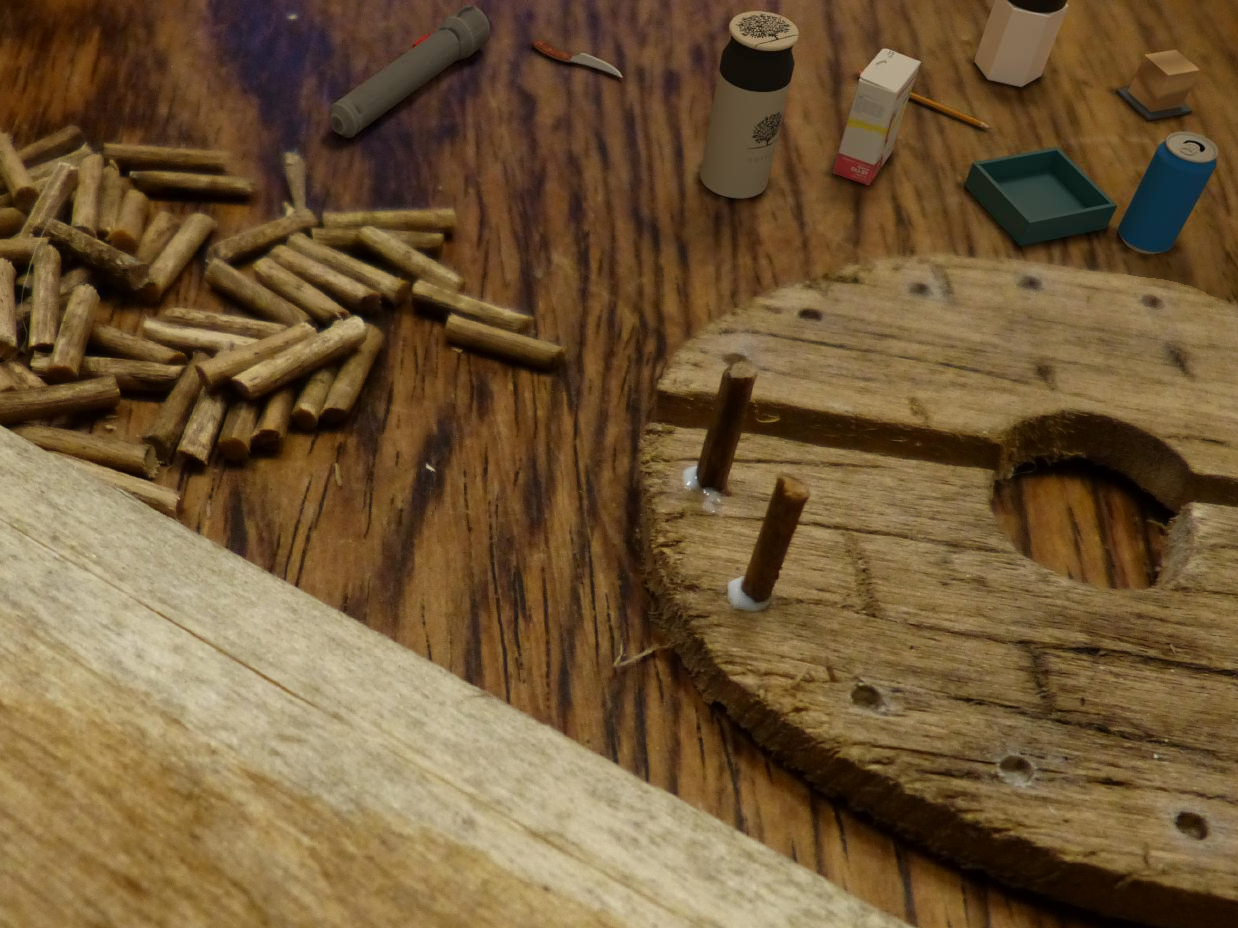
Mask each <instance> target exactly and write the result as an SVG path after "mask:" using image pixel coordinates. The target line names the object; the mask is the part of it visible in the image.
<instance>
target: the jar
mask: <svg viewBox="0 0 1238 928" xmlns="http://www.w3.org/2000/svg"><path fill="white" fill-rule="evenodd" d="M1068 9H1069V4H1068V0H994V1H993V5H992V8H991V11H990V13H989V17H988V18H987V22H986V25H985V28H984V29H983V33H982V37H981V40H980V42H979V45H978V48H977V51H976V53H975V57H974V58H973V59H974V60H973V62H974V63H975V65H976V66H977V68H978V69H979V70H980V72H981V73H982V74H983V76H984V77H985V78H986V80H988V81H992V82H996V83H1000V84H1005V85H1010V86H1014V87H1018V88H1022V87H1024V86H1026V85H1028V84H1029V83H1031V82H1033V81H1035V80H1036V79H1038V78H1041V77H1042V75H1043V72H1044V69H1045V67H1046V66H1047V65H1046V64H1047V62H1048V60H1049V57H1050V55H1051V52H1052V49H1053V48H1054V45H1055V43H1056V40H1057V37H1058V35H1059V32H1060V30H1061V26H1062V25H1063V22H1064V19H1065V17H1066V14H1067V11H1068Z"/></svg>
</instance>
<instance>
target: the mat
mask: <svg viewBox="0 0 1238 928" xmlns="http://www.w3.org/2000/svg"><path fill="white" fill-rule="evenodd" d="M1129 88H1130V86H1127V87H1121V88H1116V90H1115V93H1116V94H1117V95H1119V96H1120V98H1122V99H1123V100H1124V101H1125V103H1127V104H1128V105H1129V106H1131V107H1132V108H1133V109H1134V110H1135V111H1136V112H1137V113H1138V114H1139V115H1140V116H1142V117H1143V118H1144V119H1145V120H1146V121H1153V120H1159V119H1164V118H1171V117H1176V116H1182V115H1187V114H1192V111H1193V109H1192V108H1190V107H1189V106H1188V105H1187V104H1186V102H1184V103H1183V105H1182V107H1178V108H1173V109H1167V110H1161V111H1156V112H1149V111H1148V110H1147V109H1146V108H1145V107H1144V106H1143V105H1142V104H1140V103H1139V102H1138V101H1137V100H1136V99H1135V98H1134V97H1133V96H1132V95H1130V94H1129V93H1128V90H1129Z"/></svg>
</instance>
